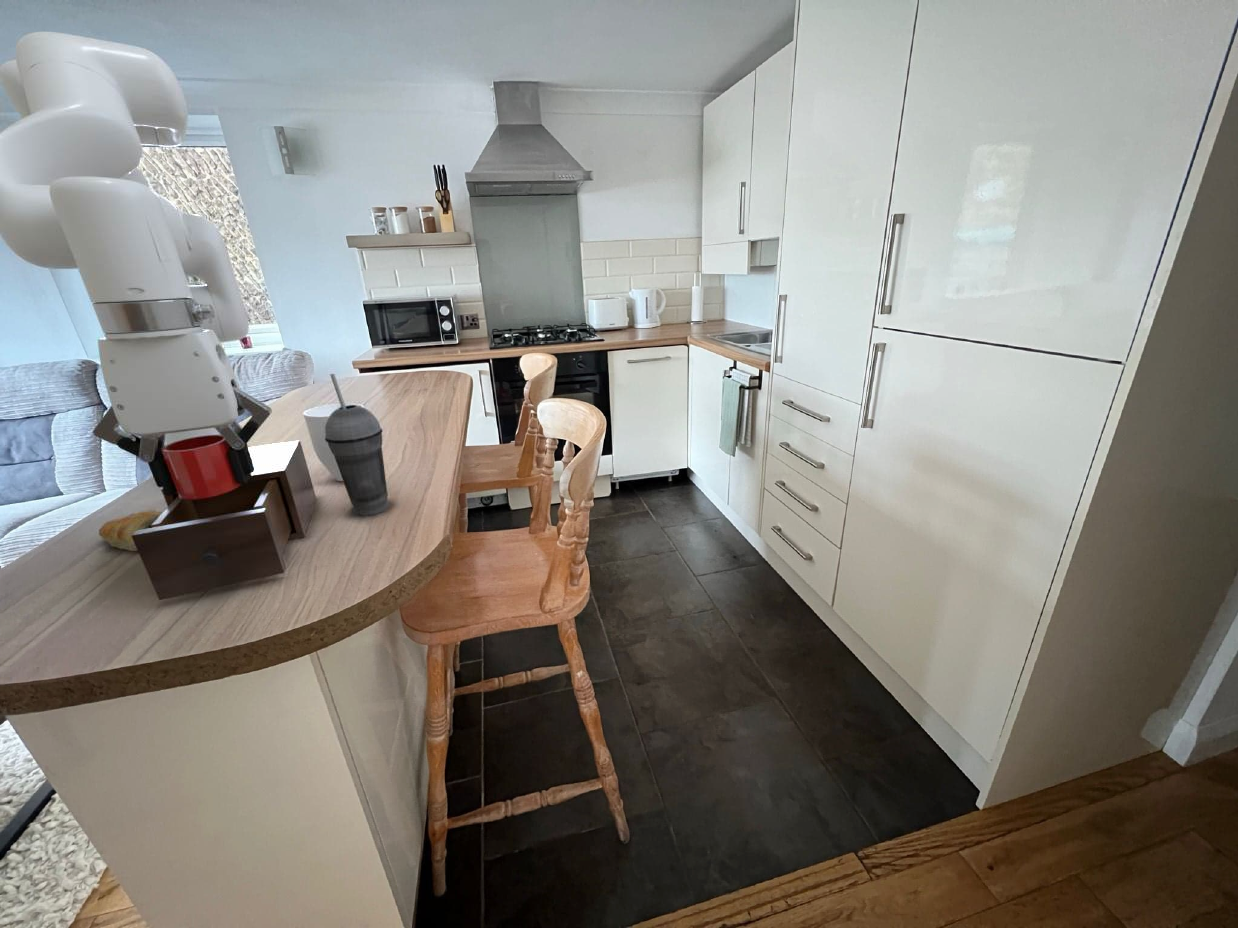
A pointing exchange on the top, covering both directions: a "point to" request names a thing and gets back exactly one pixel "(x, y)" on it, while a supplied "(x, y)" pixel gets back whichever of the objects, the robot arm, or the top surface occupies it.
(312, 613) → the top surface
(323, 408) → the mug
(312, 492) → the cabinet
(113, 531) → the pastry
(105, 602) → the top surface
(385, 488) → the beverage cup
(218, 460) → the red cup
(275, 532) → the drawer
